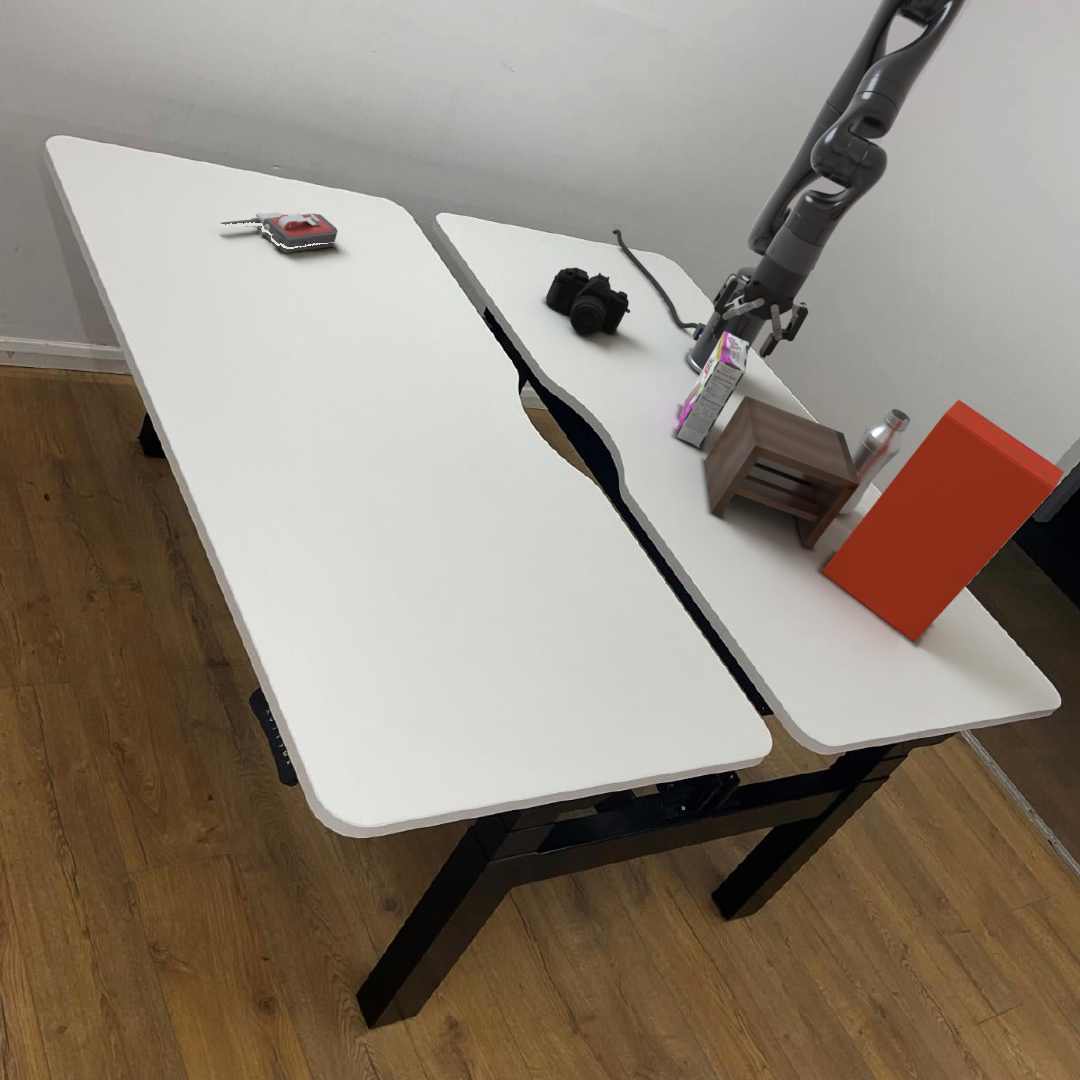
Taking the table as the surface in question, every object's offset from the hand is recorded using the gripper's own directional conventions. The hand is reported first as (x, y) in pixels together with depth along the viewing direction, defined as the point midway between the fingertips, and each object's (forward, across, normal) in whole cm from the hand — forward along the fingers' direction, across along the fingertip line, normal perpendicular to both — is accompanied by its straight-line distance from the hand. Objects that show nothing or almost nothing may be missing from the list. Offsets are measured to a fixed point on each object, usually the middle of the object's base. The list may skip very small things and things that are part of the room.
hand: (738, 346), depth 171 cm
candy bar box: (+18, 0, 0) cm, 18 cm away
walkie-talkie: (+17, +75, -11) cm, 78 cm away
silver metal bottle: (+18, -27, +8) cm, 33 cm away
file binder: (+18, -30, +30) cm, 46 cm away
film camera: (+17, +21, -22) cm, 35 cm away
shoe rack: (+17, -11, +16) cm, 26 cm away
